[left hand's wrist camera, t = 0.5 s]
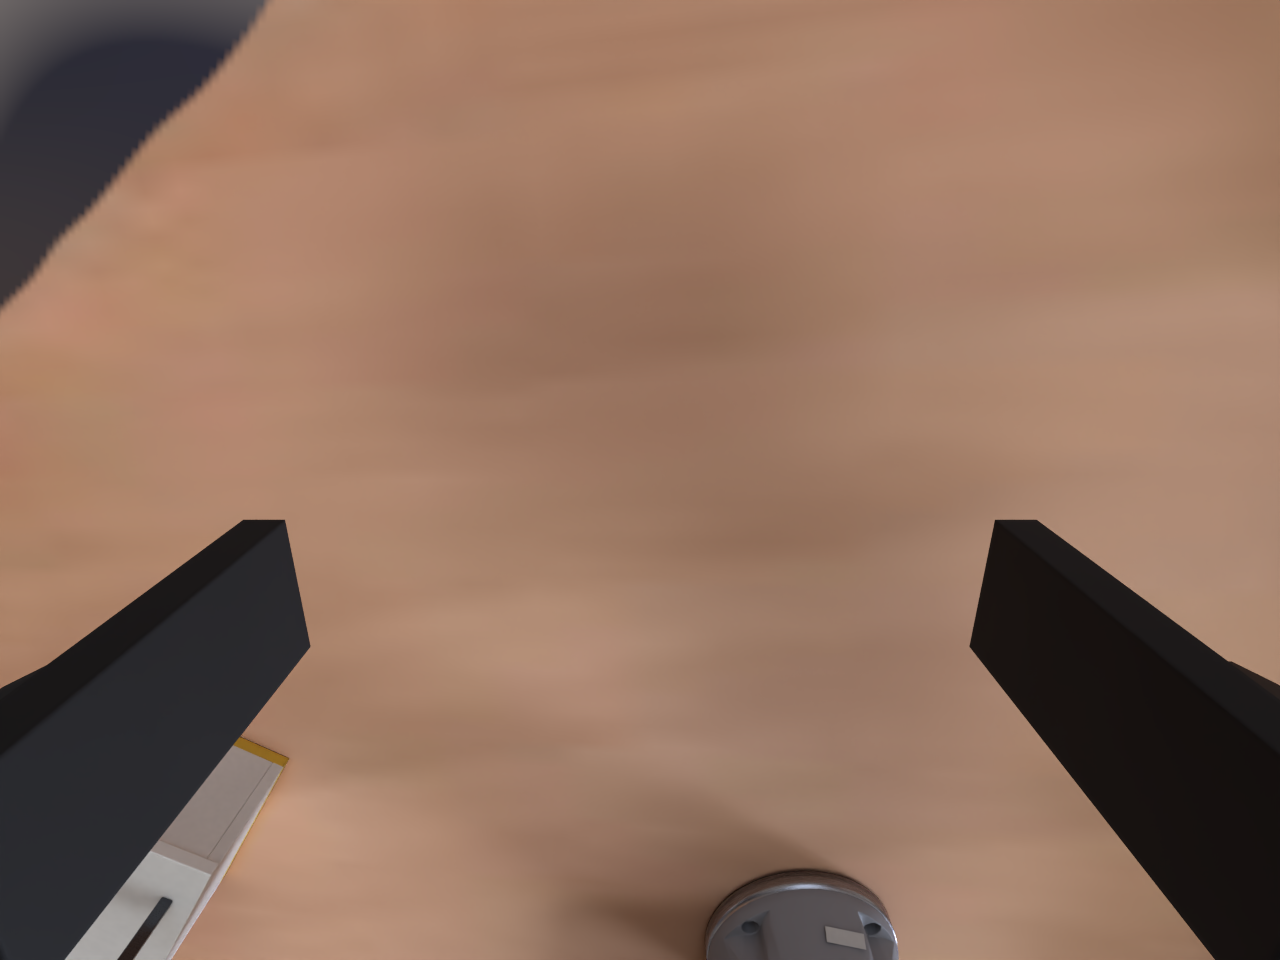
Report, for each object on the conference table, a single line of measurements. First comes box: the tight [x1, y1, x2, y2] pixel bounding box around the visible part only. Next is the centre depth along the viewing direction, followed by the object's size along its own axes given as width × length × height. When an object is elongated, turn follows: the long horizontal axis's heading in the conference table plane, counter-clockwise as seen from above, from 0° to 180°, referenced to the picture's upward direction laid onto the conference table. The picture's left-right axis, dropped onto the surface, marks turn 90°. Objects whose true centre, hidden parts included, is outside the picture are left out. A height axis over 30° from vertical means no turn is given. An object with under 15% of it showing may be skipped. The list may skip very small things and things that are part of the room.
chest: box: [159, 737, 289, 960], centre depth 46 cm, size 14×10×9 cm
